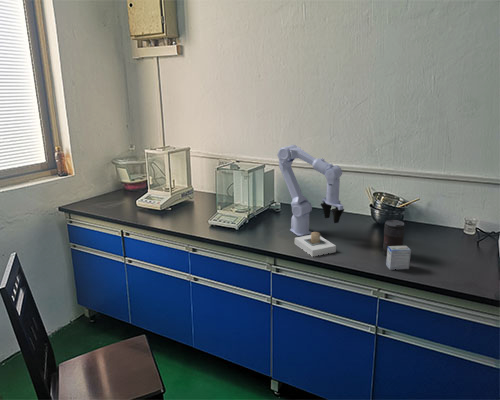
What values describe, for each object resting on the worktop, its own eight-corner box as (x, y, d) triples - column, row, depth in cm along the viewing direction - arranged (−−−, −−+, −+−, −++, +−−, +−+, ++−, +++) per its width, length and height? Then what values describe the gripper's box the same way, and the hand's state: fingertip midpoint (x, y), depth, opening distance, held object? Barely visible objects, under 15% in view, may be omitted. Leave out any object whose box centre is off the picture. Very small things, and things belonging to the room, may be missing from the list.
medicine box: (404, 264, 165) (406, 245, 163) (409, 269, 161) (411, 249, 158) (385, 265, 165) (387, 245, 162) (389, 270, 161) (391, 250, 158)
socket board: (294, 243, 188) (294, 237, 187) (316, 239, 192) (316, 233, 191) (312, 256, 174) (312, 249, 173) (335, 252, 178) (336, 245, 177)
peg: (308, 247, 184) (309, 232, 182) (316, 245, 186) (316, 231, 184) (314, 250, 181) (314, 235, 179) (321, 248, 182) (321, 234, 180)
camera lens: (378, 253, 176) (380, 221, 172) (393, 250, 179) (396, 218, 175) (390, 260, 169) (393, 227, 165) (405, 257, 172) (409, 224, 167)
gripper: (349, 195, 180) (347, 223, 184) (331, 187, 193) (330, 214, 197) (336, 197, 178) (334, 226, 182) (318, 189, 190) (317, 216, 194)
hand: (331, 220), depth 189 cm, fingers open, 7 cm apart
